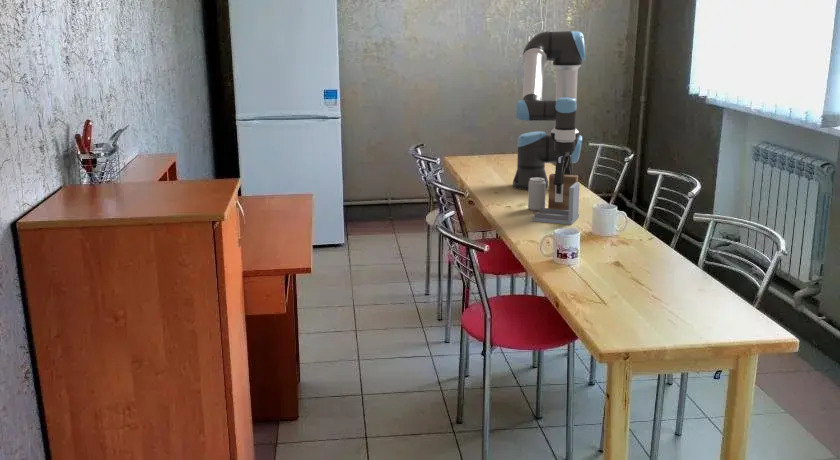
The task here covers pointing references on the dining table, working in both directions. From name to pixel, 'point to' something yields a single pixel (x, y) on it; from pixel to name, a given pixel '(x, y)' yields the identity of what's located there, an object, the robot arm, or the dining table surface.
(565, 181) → the door panel
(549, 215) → the door track
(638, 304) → the dining table surface
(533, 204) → the beverage can
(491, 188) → the dining table surface
